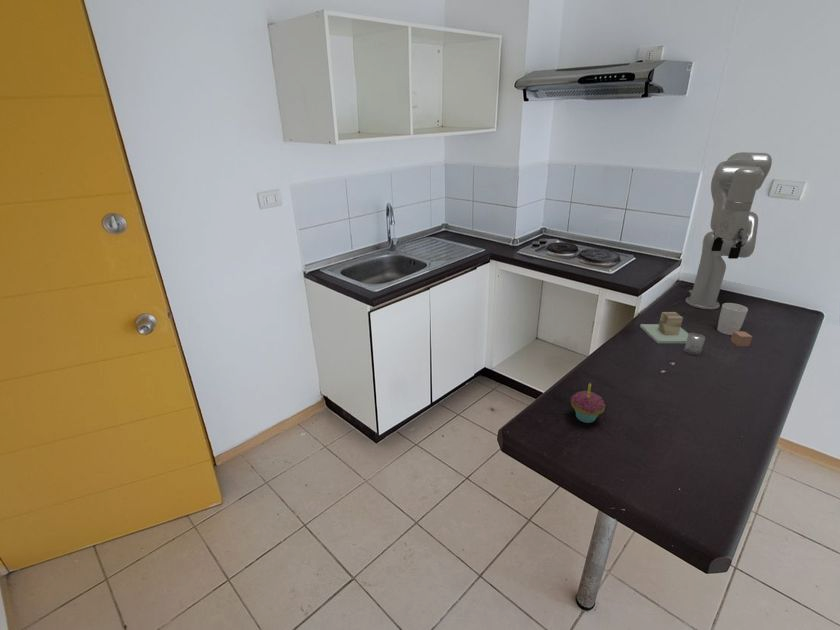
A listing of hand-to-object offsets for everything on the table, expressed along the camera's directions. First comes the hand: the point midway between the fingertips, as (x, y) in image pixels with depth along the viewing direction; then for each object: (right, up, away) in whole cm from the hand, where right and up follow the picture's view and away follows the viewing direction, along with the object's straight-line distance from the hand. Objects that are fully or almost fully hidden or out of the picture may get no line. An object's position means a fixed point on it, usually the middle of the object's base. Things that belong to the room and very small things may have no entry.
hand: (724, 254), depth 159 cm
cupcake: (-65, -49, -41) cm, 92 cm away
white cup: (+6, -28, +7) cm, 30 cm away
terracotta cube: (+4, -32, -2) cm, 32 cm away
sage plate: (-18, -29, +4) cm, 34 cm away
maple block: (-18, -28, +4) cm, 34 cm away
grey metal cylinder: (-16, -34, -8) cm, 39 cm away
